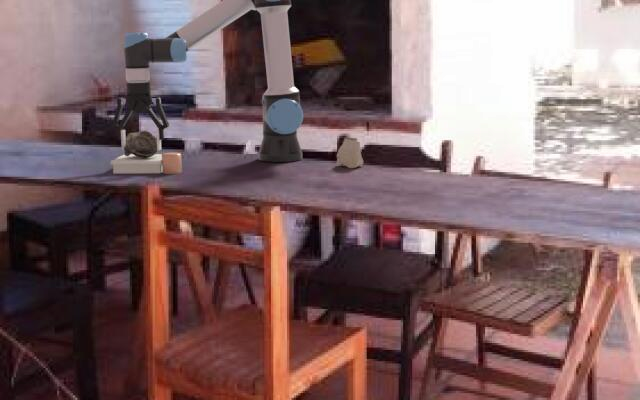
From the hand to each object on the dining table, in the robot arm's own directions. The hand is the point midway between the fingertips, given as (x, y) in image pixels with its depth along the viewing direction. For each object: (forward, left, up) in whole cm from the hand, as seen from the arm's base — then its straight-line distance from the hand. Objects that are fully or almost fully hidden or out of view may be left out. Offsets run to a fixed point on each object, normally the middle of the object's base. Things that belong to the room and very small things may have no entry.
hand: (141, 150), depth 298 cm
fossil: (0, 0, -2) cm, 2 cm away
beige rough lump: (-67, -4, -7) cm, 67 cm away
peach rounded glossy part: (-11, +6, -6) cm, 14 cm away
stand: (0, 0, -6) cm, 6 cm away
